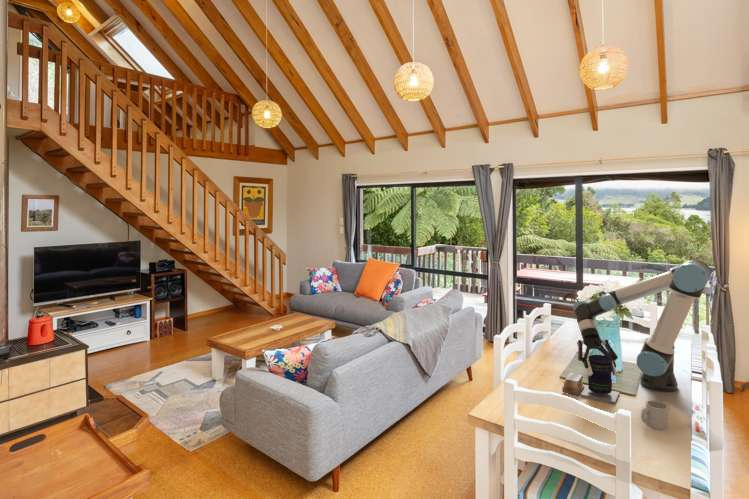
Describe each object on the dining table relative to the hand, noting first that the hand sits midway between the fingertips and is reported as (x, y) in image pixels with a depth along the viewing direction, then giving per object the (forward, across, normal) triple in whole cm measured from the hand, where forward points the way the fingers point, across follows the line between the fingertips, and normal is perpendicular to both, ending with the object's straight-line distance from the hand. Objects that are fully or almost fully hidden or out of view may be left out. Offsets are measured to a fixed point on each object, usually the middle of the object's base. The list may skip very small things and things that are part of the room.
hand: (603, 374), depth 195 cm
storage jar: (+4, 0, -8) cm, 9 cm away
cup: (+26, -9, +9) cm, 29 cm away
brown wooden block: (+1, +10, -15) cm, 18 cm away
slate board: (+6, 0, -10) cm, 12 cm away
